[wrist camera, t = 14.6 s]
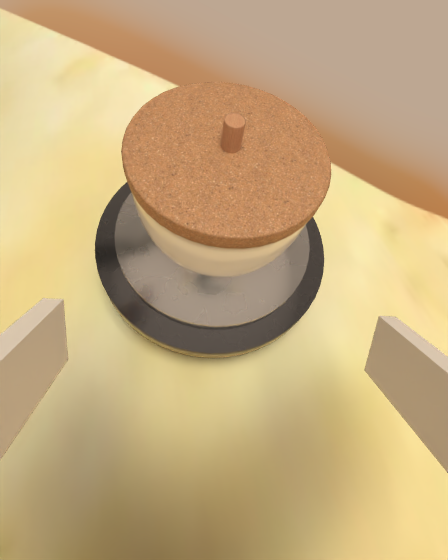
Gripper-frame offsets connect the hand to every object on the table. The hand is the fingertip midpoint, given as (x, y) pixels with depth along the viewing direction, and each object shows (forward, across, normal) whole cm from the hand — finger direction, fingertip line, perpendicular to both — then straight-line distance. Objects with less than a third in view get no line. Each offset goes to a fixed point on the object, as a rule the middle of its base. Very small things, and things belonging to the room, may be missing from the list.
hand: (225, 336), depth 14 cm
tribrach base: (+15, 0, -1) cm, 15 cm away
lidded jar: (+11, 0, +2) cm, 11 cm away
